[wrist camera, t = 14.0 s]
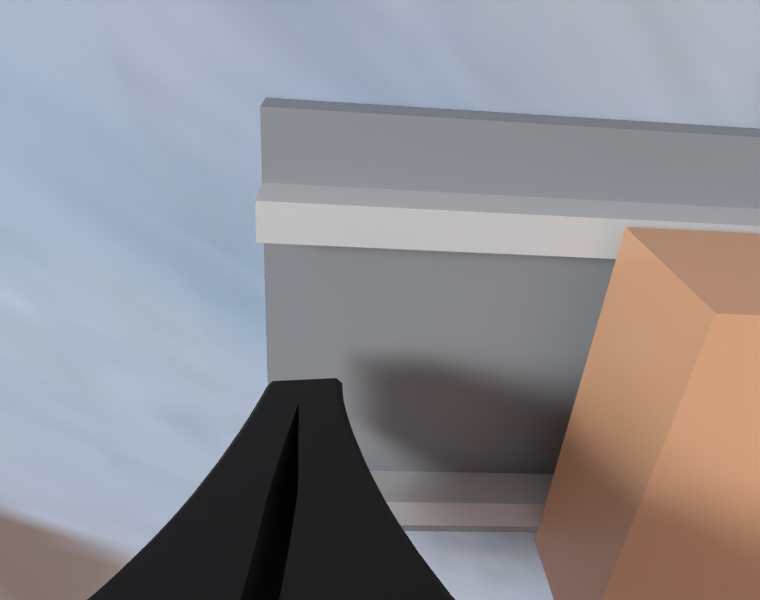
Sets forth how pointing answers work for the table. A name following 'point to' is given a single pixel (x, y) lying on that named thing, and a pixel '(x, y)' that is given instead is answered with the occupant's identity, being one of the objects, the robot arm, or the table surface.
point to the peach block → (664, 430)
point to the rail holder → (467, 278)
